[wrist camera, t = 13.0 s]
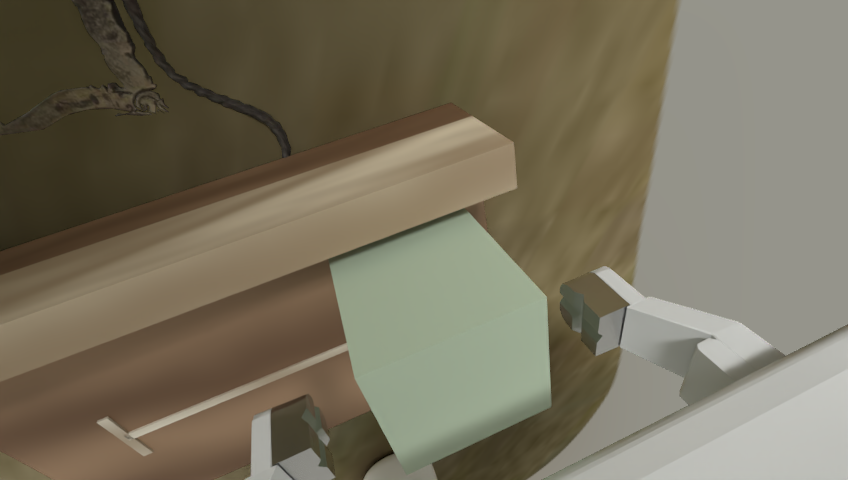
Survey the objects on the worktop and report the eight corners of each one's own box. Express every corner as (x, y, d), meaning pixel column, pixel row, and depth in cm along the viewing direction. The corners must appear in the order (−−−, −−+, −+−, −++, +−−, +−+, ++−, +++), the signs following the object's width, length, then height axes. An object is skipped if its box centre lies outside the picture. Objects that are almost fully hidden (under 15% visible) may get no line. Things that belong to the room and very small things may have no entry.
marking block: (321, 230, 15) (354, 378, 9) (444, 186, 15) (546, 296, 10) (371, 340, 18) (416, 494, 13) (468, 300, 19) (552, 429, 13)
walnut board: (-142, 298, 13) (-328, 440, 9) (451, 102, 16) (513, 142, 12) (135, 478, 21) (105, 593, 17) (488, 327, 24) (532, 395, 20)
